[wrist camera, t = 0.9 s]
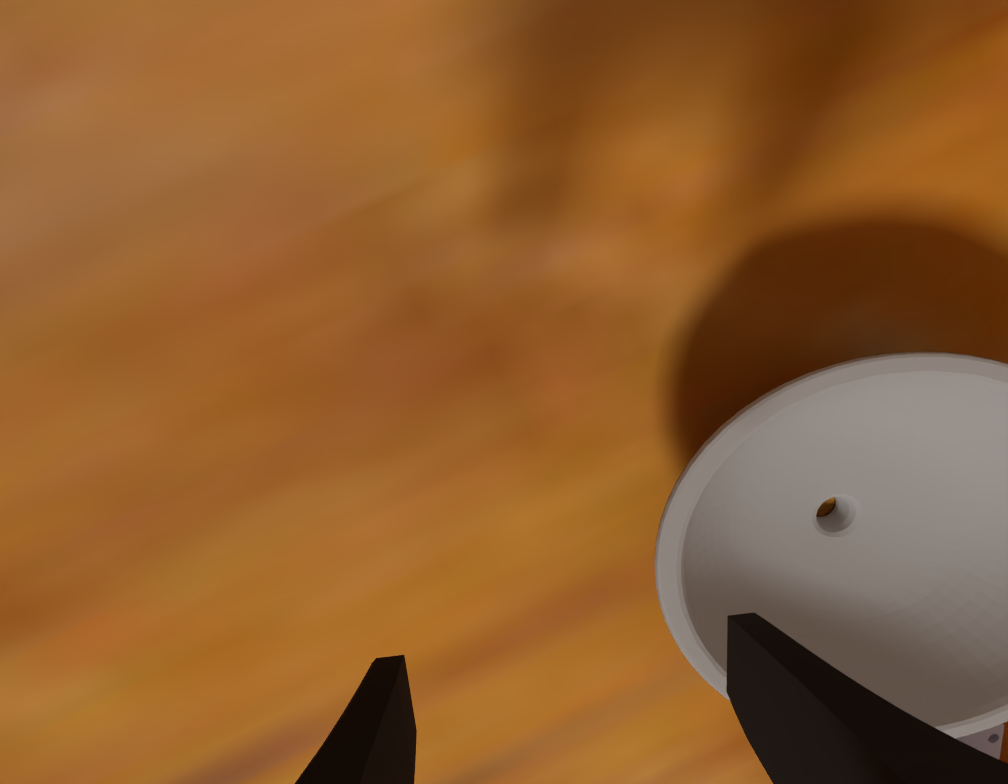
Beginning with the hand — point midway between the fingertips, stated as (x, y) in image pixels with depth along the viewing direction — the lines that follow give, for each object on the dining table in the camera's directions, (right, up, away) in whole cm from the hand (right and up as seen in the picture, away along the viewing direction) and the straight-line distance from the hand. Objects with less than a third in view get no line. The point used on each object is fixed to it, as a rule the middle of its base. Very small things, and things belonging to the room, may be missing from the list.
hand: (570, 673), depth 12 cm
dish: (+12, +2, +11) cm, 16 cm away
